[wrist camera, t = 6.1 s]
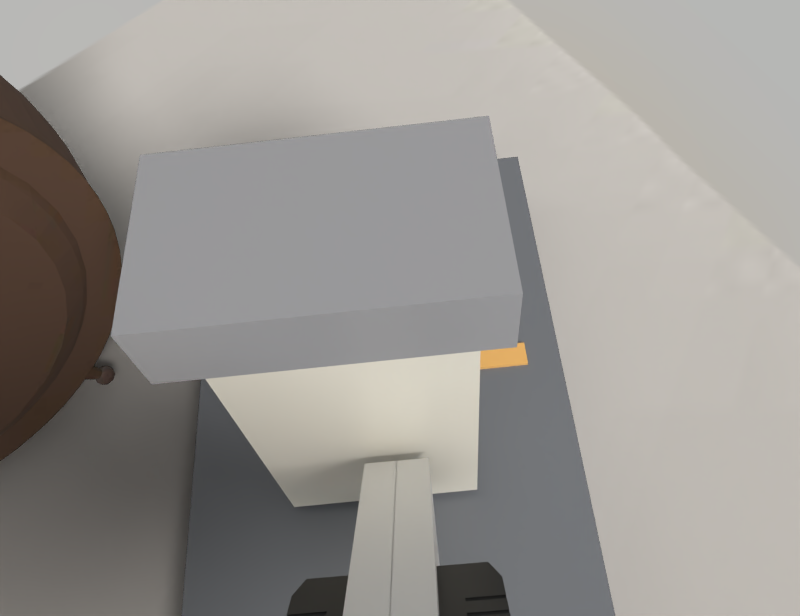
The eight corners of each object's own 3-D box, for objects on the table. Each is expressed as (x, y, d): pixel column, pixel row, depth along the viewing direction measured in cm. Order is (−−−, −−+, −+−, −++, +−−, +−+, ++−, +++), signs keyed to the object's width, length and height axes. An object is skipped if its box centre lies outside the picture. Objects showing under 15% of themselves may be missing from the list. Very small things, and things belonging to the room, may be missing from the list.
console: (164, 1245, 15) (121, 1313, 13) (231, 224, 28) (215, 187, 27) (720, 1209, 14) (757, 1275, 12) (514, 193, 28) (517, 154, 26)
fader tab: (275, 530, 20) (110, 336, 11) (278, 407, 22) (140, 154, 13) (498, 509, 19) (523, 293, 10) (481, 387, 21) (488, 115, 12)
